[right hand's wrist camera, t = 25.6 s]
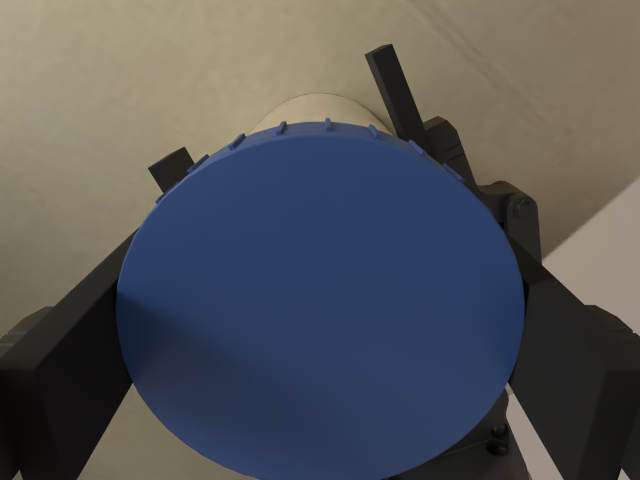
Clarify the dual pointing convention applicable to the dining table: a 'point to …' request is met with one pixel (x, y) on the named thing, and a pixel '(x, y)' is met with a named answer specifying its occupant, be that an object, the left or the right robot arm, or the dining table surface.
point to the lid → (320, 305)
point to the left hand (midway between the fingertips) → (267, 105)
